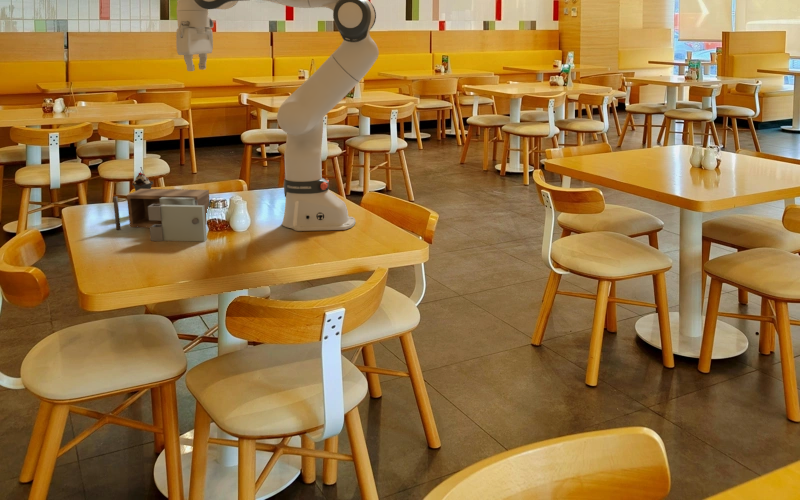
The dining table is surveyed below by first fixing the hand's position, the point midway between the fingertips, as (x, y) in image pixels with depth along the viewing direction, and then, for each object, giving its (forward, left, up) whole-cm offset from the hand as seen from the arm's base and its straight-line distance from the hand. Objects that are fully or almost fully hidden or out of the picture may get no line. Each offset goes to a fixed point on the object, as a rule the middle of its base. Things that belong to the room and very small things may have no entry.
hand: (196, 70), depth 231 cm
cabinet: (+12, +5, -46) cm, 48 cm away
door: (+1, +21, -46) cm, 51 cm away
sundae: (+25, -11, -47) cm, 54 cm away
